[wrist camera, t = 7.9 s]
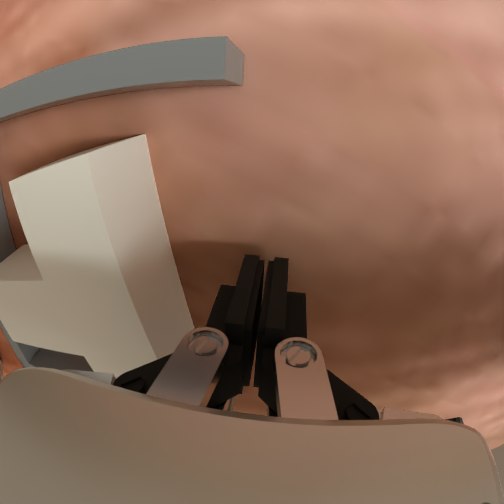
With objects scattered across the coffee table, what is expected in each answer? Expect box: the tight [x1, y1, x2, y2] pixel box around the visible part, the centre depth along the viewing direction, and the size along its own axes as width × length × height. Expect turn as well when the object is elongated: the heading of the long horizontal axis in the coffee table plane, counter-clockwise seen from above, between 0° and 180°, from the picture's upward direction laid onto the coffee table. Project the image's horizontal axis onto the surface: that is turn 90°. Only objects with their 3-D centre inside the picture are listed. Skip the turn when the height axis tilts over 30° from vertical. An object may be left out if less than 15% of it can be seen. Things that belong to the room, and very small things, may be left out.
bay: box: [0, 36, 244, 411], centre depth 12 cm, size 15×17×3 cm
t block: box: [0, 134, 195, 377], centre depth 12 cm, size 10×12×4 cm
